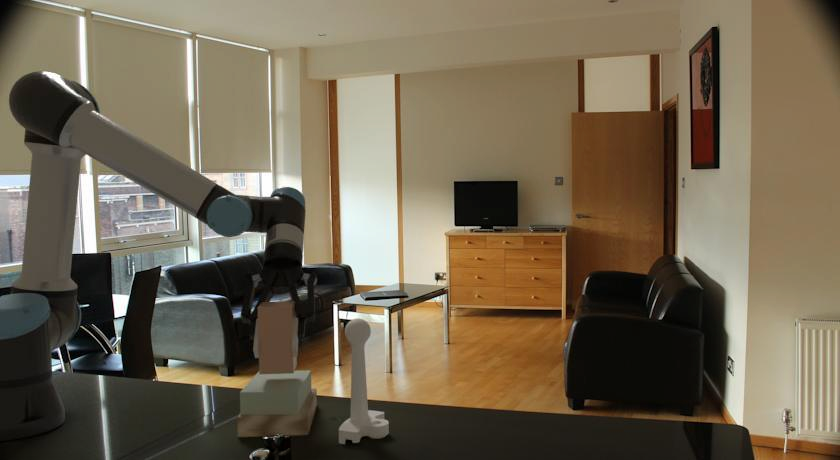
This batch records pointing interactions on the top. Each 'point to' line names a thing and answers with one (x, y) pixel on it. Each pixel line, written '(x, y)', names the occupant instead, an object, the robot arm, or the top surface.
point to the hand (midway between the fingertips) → (275, 353)
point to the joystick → (360, 391)
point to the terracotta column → (276, 337)
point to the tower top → (275, 394)
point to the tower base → (279, 421)
